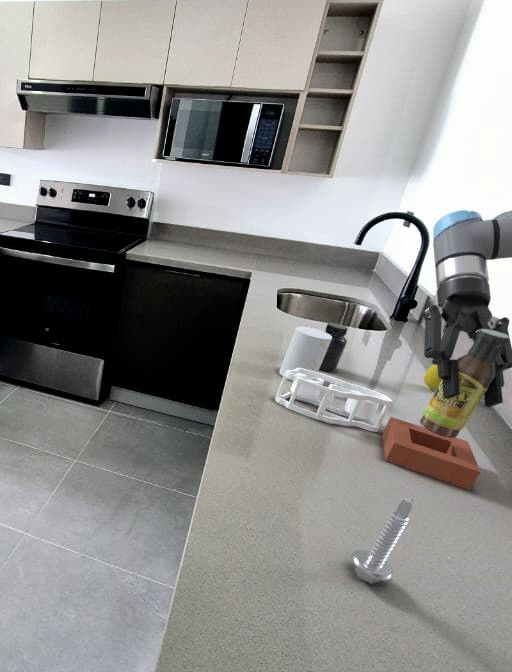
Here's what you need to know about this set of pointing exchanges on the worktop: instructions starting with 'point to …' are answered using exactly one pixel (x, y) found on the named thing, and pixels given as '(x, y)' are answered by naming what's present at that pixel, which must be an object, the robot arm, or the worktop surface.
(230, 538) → the worktop surface
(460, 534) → the worktop surface
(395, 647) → the worktop surface
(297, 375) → the skeletal toy car
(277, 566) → the worktop surface
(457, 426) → the sauce bottle
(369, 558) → the screw
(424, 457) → the base pad
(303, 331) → the cup
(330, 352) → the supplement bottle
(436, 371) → the lemon
